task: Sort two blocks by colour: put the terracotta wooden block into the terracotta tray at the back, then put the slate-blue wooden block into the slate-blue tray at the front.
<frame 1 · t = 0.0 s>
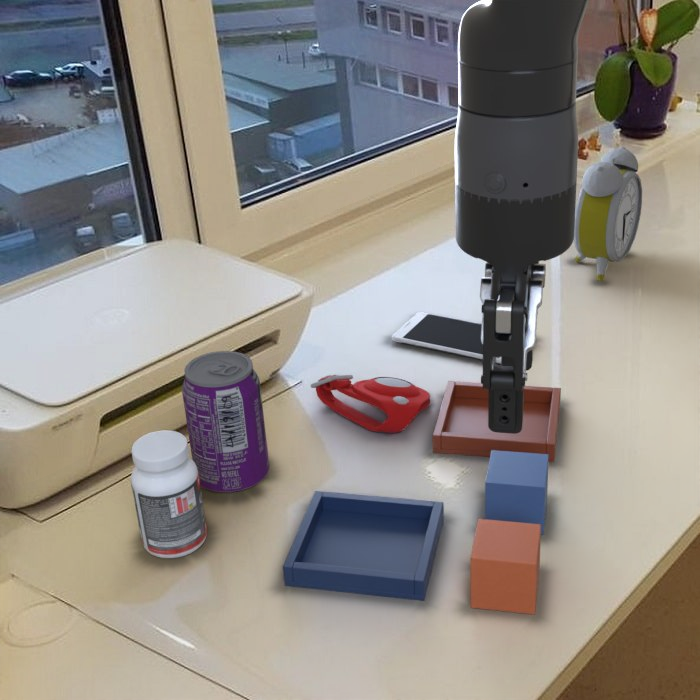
hand: (511, 397, 74), 19 cm above the worktop, tool pointing down, fingers open, 8 cm apart
terracotta block: (505, 590, 85), on the worktop
pill bottle: (175, 541, 94), on the worktop
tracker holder: (375, 410, 111), on the worktop
alarm clock: (599, 267, 140), on the worktop
beverage can: (233, 478, 102), on the worktop
terracotta tray: (498, 427, 107), on the worktop
smartphone: (462, 341, 123), on the worktop
blue block: (516, 515, 94), on the worktop
blue tray: (367, 551, 91), on the worktop
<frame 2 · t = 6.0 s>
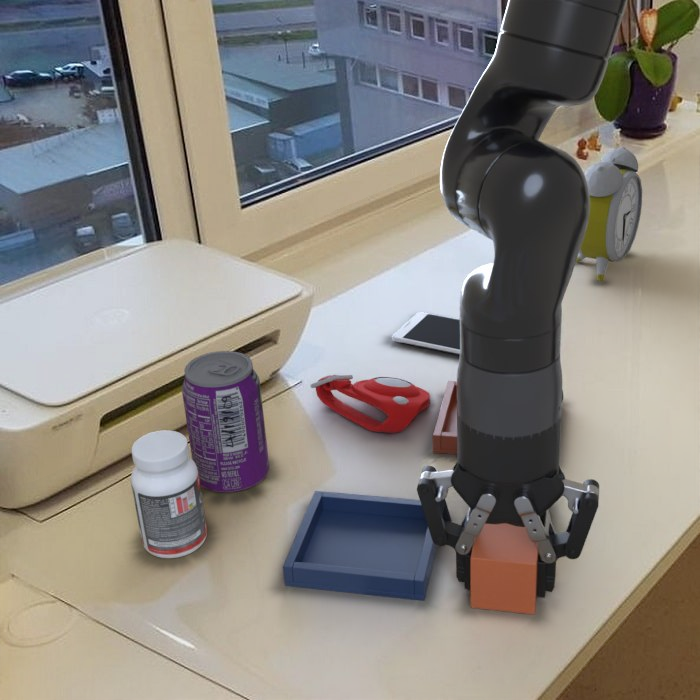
hand: (505, 586, 85), 0 cm above the worktop, tool pointing down, fingers closed on terracotta block, 5 cm apart
terracotta block: (505, 590, 85), on the worktop, touching gripper
everything else where it was.
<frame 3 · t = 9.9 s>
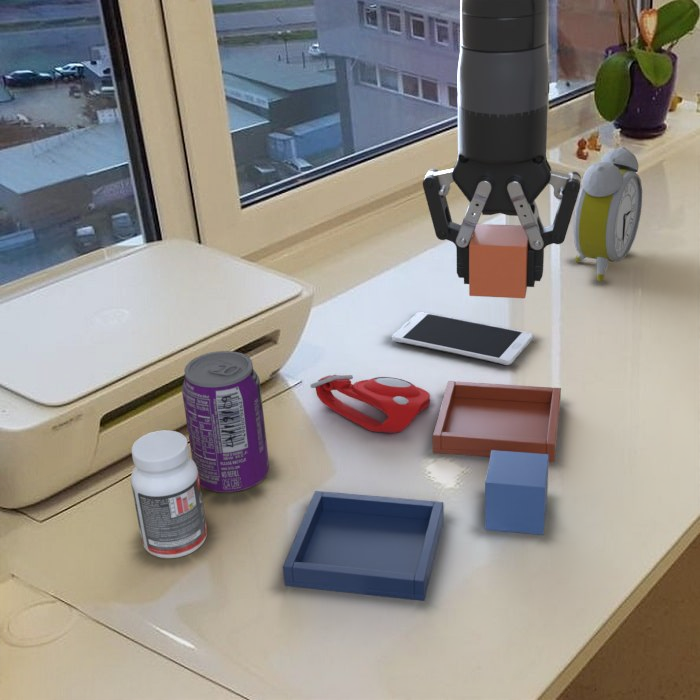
hand: (500, 281, 97), 17 cm above the worktop, tool pointing down, fingers closed on terracotta block, 5 cm apart
terracotta block: (499, 285, 98), point 16 cm above the worktop, touching gripper
everything else where it was.
when the fingers open (1 cm above the worktop, at t = 13.9 s): terracotta block stays where it is, resting on terracotta tray.
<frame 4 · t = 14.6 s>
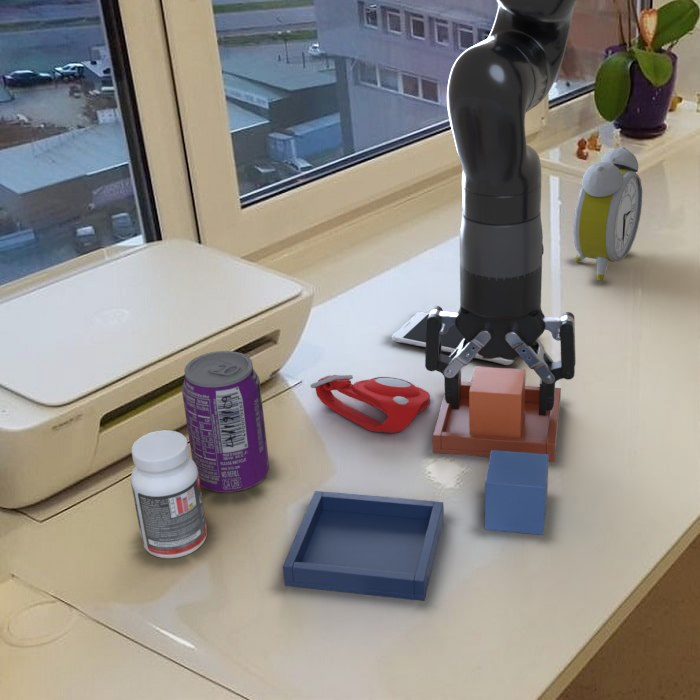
hand: (499, 408, 105), 2 cm above the worktop, tool pointing down, fingers open, 8 cm apart
terracotta block: (497, 423, 106), resting on terracotta tray
everything else where it was.
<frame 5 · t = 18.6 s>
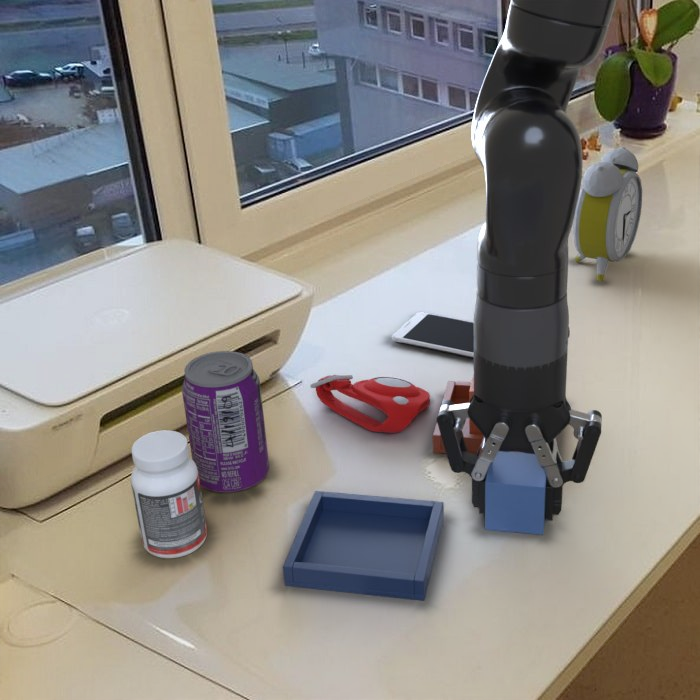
hand: (516, 511, 94), 0 cm above the worktop, tool pointing down, fingers closed on blue block, 5 cm apart
blue block: (516, 515, 94), on the worktop, touching gripper
everything else where it was.
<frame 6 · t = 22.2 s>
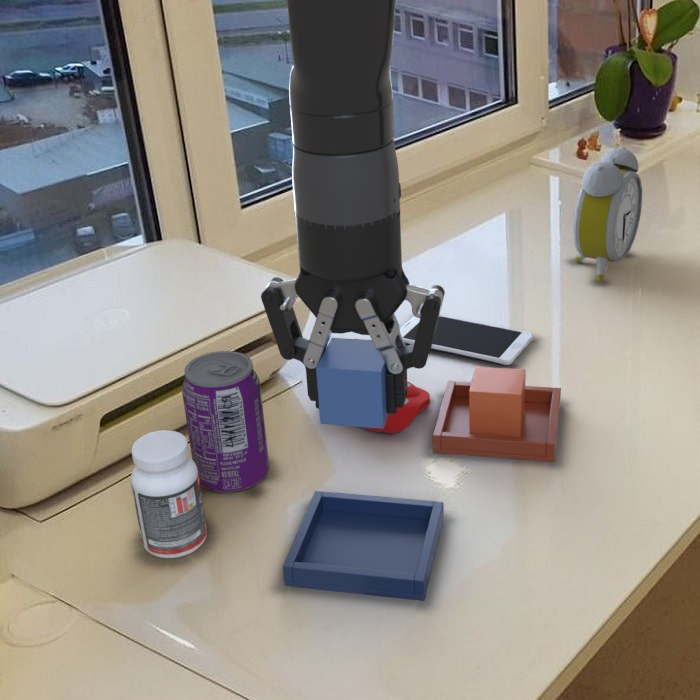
hand: (358, 405, 84), 15 cm above the worktop, tool pointing down, fingers closed on blue block, 5 cm apart
blue block: (358, 409, 84), point 14 cm above the worktop, touching gripper
everything else where it was.
when the fingers open (1 cm above the worktop, at t = 25.7 s): blue block stays where it is, resting on blue tray.
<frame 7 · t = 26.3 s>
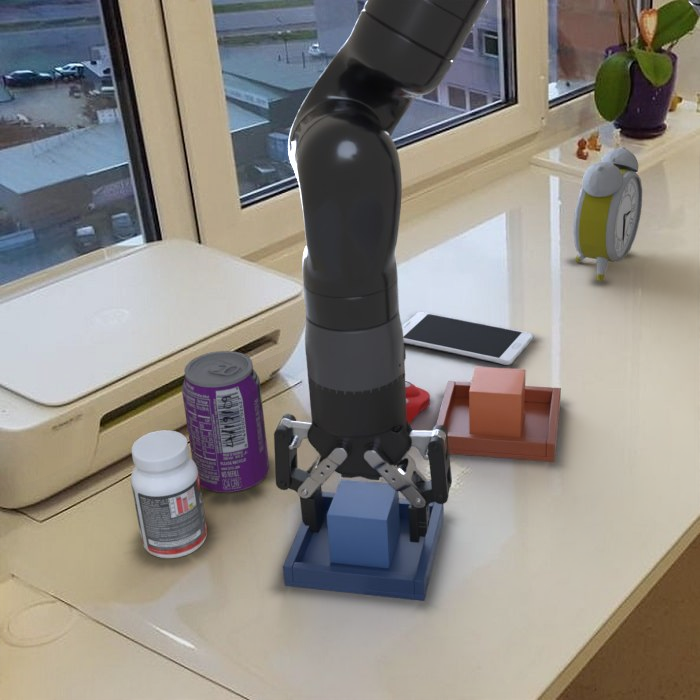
hand: (366, 531, 90), 2 cm above the worktop, tool pointing down, fingers open, 8 cm apart
blue block: (365, 547, 90), resting on blue tray
everything else where it was.
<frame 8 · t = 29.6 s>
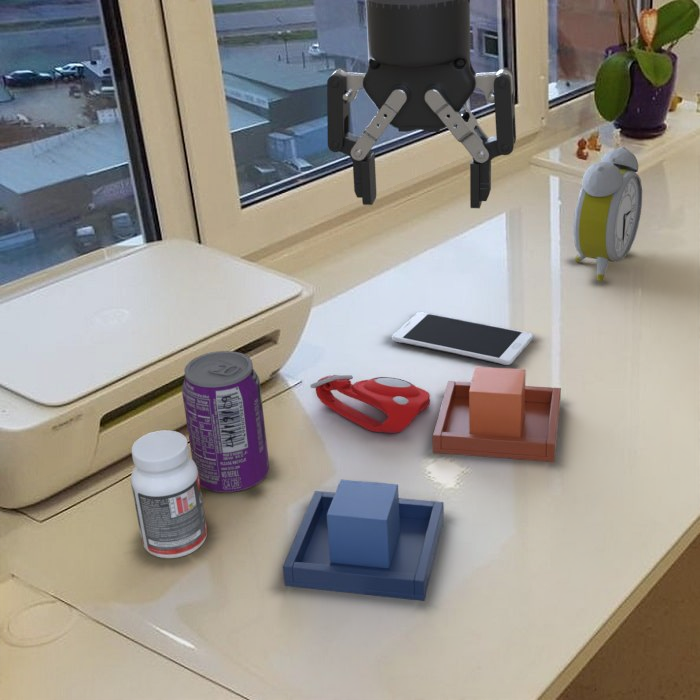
hand: (422, 203, 84), 28 cm above the worktop, tool pointing down, fingers open, 8 cm apart
nothing on the worktop moved.
at the end: terracotta block inside the target area in the terracotta tray (0.1 cm from its centre), point 0.5 cm above the terracotta tray's base; blue block inside the target area in the blue tray (0.1 cm from its centre), point 0.5 cm above the blue tray's base; blue block tilted 0° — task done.
